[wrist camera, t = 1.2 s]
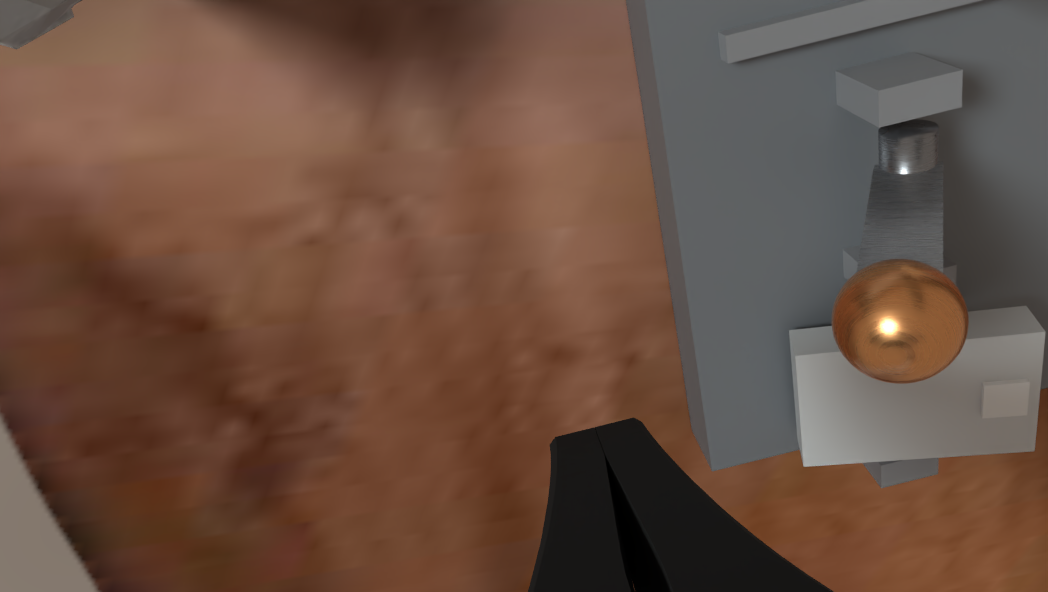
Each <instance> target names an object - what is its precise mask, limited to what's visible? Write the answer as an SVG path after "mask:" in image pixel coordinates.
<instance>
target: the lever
mask: <svg viewBox="0 0 1048 592" xmlns="http://www.w3.org/2000/svg"><path fill="white" fill-rule="evenodd" d="M938 135H939V126H938V124H936V123H935V122H932V121H928V120H921V119H912V120H908V121H904V122H900V123H896V124H892V125H888V126H884V127H881V128H880V129H879V130H878V148H879V165H874V168H873V174H872V180H871V186H870V192H869V199H868V205H867V211H866V217H865V223H864V229H863V235H862V241H861V247H860V254H859V260H858V266H857V272H856V273H855V274H854V275H853V276H852V277H851V278H849V279H848V280H847V281H846V283H845V284H844V285H843V287H842V288H841V290H840V291H839V293H838V295H837V297H836V300H835V302H834V305H833V310H832V322H831V324H832V331H833V336H834V339H835V342H836V344H837V346H838V348H839V350H840V352H841V353H842V355H843V356H844V357H845V358H846V360H847V361H848V362H849V363H850V364H851V365H852V366H853V367H854V368H856V369H857V370H859V371H860V372H861V373H863V374H865V375H867V376H869V377H871V378H873V379H876V380H879V381H882V382H887V383H895V384H907V383H914V382H919V381H922V380H926V379H928V378H931V377H933V376H935V375H937V374H938V373H940V372H941V371H943V370H944V369H945V368H947V367H948V366H949V365H950V364H951V363H952V362H953V361H954V360H955V359H956V357H957V356H958V354H959V353H960V352H961V350H962V348H963V346H964V343H965V341H966V337H967V334H968V325H969V319H968V311H967V307H966V303H965V301H964V298H963V296H962V294H961V293H960V291H959V289H958V288H957V286H956V285H955V284H954V283H953V282H952V281H951V280H950V279H949V278H948V277H947V276H946V275H945V274H944V273H943V161H942V162H938Z"/></svg>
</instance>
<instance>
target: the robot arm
mask: <svg viewBox="0 0 1048 592" xmlns="http://www.w3.org/2000/svg"><path fill="white" fill-rule="evenodd" d="M595 430H596V431H595ZM550 451H551V477H550V488H549V497H548V504H547V510H546V516H545V522H544V527H543V533H542V538H541V543H540V547H539V551H538V555H537V559H536V563H535V567H534V571H533V575H532V579H531V583H530V587H529V590H528V592H634V588H635V590H636V592H833V591H832V590H830V589H829V588H827V587H826V586H824V585H823V584H821V583H820V582H818V581H817V580H815V579H813V578H812V577H810V576H809V575H807V574H806V573H804V572H803V571H802V570H800V569H799V568H797V567H796V566H794V565H793V564H792V563H790V562H789V561H787V560H786V559H785V558H783V557H782V556H780V555H779V554H778V553H776V552H775V551H774V550H772V549H771V548H770V547H768V546H767V545H766V544H764V543H763V542H762V541H761V540H759V539H758V538H757V537H756V536H754V535H753V534H752V533H751V532H749V531H748V530H747V529H746V528H745V527H743V526H742V525H741V524H740V523H739V522H737V521H736V520H735V519H734V518H733V517H731V516H730V515H729V514H728V513H727V512H726V511H725V510H724V509H722V508H721V507H720V506H719V505H718V504H717V503H716V502H715V501H714V500H713V499H712V498H710V497H709V496H708V495H707V494H706V493H705V492H704V491H703V490H702V489H701V488H700V487H699V486H698V485H697V484H696V483H695V482H694V481H693V480H692V479H691V478H690V477H689V476H688V475H687V474H686V473H685V472H684V471H683V470H682V469H681V468H680V467H679V466H678V465H677V464H676V463H675V462H674V461H673V460H672V459H671V457H670V456H669V455H668V454H667V453H666V452H665V451H664V450H663V449H662V447H661V446H660V445H659V444H658V443H657V441H656V440H655V439H654V438H653V437H652V435H651V434H650V433H649V431H648V430H647V429H646V427H645V426H644V424H643V423H642V422H641V421H639V420H637V419H635V418H630V419H626V420H622V421H618V422H614V423H610V424H606V425H602V426H598V427H595V428H590V429H586V430H582V431H578V432H574V433H570V434H566V435H562V436H558V437H555V439H554V440H553V441H552V443H551V444H550ZM632 581H633V582H632ZM633 585H634V587H633Z"/></svg>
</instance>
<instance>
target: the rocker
mask: <svg viewBox="0 0 1048 592" xmlns="http://www.w3.org/2000/svg"><path fill="white" fill-rule="evenodd" d="M968 319H969V325H968V334H967V337H966V341H965V343H964V346H963V348H962V350H961V352H960V353H959V354H958V356H957V357H956V359H955V360H954V361H953V362H952V363H951V364H950V365H949V366H948V367H947V368H945V369H944V370H943V371H941V372H940V373H938V374H937V375H935V376H933V377H931V378H928V379H926V380H922V381H919V382H914V383H907V384H895V383H887V382H882V381H879V380H876V379H873V378H871V377H869V376H867V375H865V374H863V373H861V372H860V371H859V370H857V369H856V368H854V367H853V366H852V365H851V364H850V363H849V362H848V361H847V360H846V358H845V357H844V356H843V355H842V353H841V352H840V350H839V348H838V346H837V344H836V342H835V339H834V336H833V331H832V326H825V327H816V328H806V329H796V330H789V338H790V350H791V363H792V376H793V388H794V401H795V414H796V427H797V438H798V443H799V448H800V452H801V457H802V461H803V466H804V467H807V466H822V465H837V464H852V463H867V462H882V461H897V460H911V459H926V458H941V457H956V456H971V455H986V454H1001V453H1016V452H1031V451H1035V442H1036V431H1037V420H1038V409H1039V398H1040V387H1041V376H1042V366H1043V355H1044V344H1045V333H1046V332H1045V330H1044V329H1043V328H1042V326H1041V325H1040V324H1039V322H1038V321H1037V319H1036V318H1035V317H1034V315H1033V314H1032V313H1031V311H1030V310H1029V309H1028V307H1027V306H1018V307H1008V308H999V309H989V310H979V311H970V312H968Z"/></svg>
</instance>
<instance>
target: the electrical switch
mask: <svg viewBox="0 0 1048 592" xmlns="http://www.w3.org/2000/svg"><path fill="white" fill-rule="evenodd" d="M80 1H82V0H0V45H3V46H7V47H11V48H14V49H18V48H20V47H22V46H24V45H25V44H27V43H29V42H31V41H32V40H34V39H36V38H38V37H39V36H41V35H43V34H45V33H47V32H48V31H50V30H52V29H54V28H55V27H57V26H59V25H61V24H62V23H64V22H66V21H68V20H69V19H71V18H73V17H74V15H73V12H72V9H71V8H72V7H73V6H74V5H75V4H76V3H78V2H80Z"/></svg>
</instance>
